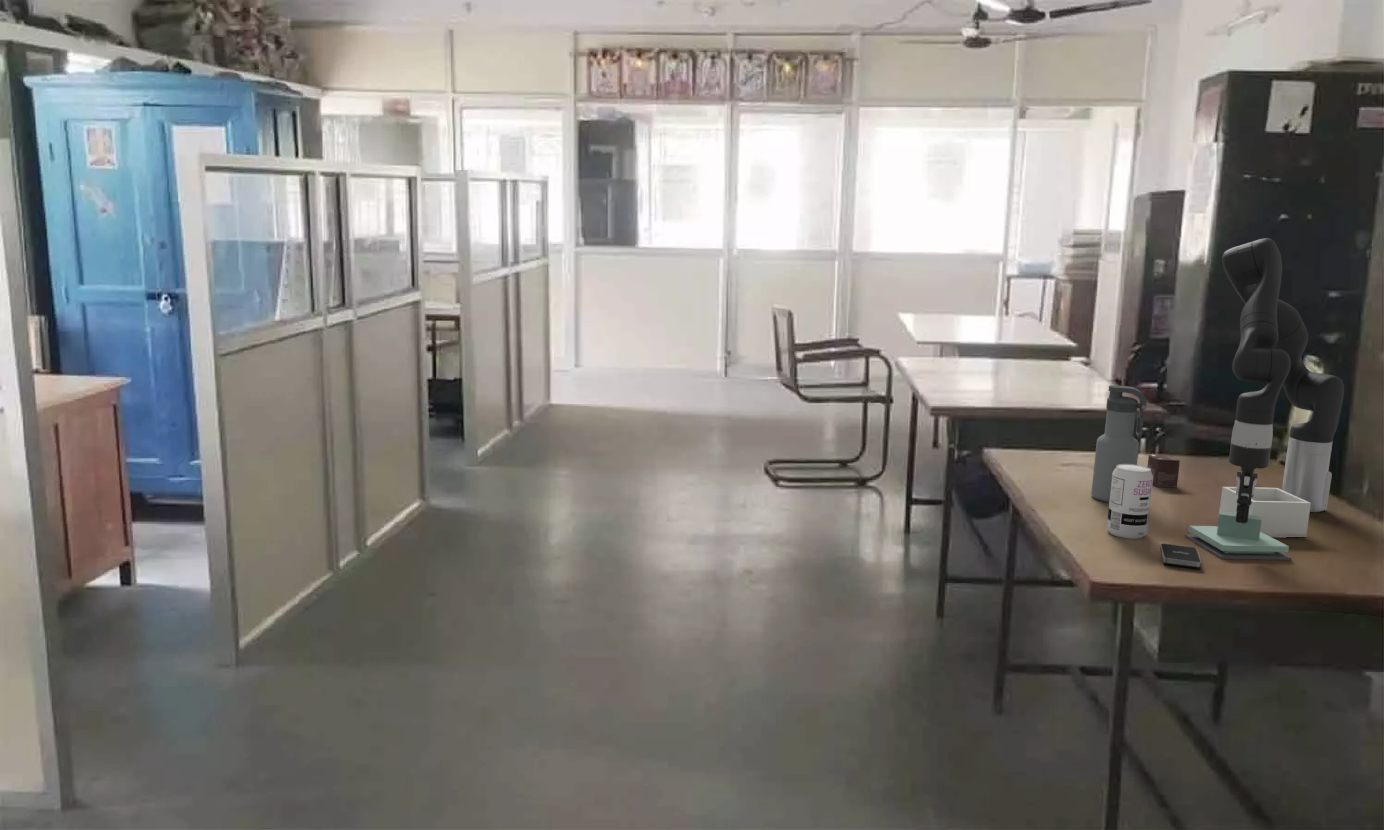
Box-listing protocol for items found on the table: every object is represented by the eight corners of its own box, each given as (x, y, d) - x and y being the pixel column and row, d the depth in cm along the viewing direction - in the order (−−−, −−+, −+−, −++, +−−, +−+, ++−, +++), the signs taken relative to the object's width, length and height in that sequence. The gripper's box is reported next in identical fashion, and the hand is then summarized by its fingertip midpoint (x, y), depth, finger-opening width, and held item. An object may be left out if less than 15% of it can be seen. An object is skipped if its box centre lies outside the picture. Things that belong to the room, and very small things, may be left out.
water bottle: (1132, 495, 273) (1144, 385, 268) (1136, 505, 264) (1149, 391, 258) (1089, 491, 275) (1100, 382, 270) (1092, 501, 266) (1104, 388, 261)
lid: (1249, 536, 239) (1253, 506, 238) (1287, 556, 225) (1291, 525, 224) (1188, 535, 238) (1191, 505, 237) (1221, 555, 224) (1226, 524, 223)
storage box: (1272, 521, 254) (1277, 487, 252) (1305, 537, 241) (1310, 502, 240) (1218, 520, 253) (1222, 486, 252) (1248, 536, 240) (1253, 501, 239)
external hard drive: (1195, 556, 226) (1196, 547, 226) (1200, 572, 216) (1201, 563, 215) (1159, 552, 228) (1160, 542, 228) (1162, 567, 218) (1163, 558, 218)
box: (1177, 487, 283) (1180, 460, 282) (1154, 486, 283) (1157, 459, 282) (1168, 481, 289) (1171, 454, 288) (1145, 481, 289) (1148, 454, 288)
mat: (1251, 538, 239) (1251, 535, 239) (1291, 559, 225) (1291, 557, 225) (1184, 536, 239) (1185, 534, 239) (1220, 558, 224) (1220, 556, 224)
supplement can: (1113, 526, 245) (1120, 461, 242) (1151, 534, 240) (1159, 467, 237) (1100, 533, 239) (1108, 467, 236) (1139, 541, 234) (1147, 474, 231)
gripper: (1271, 451, 219) (1261, 528, 223) (1271, 439, 232) (1261, 512, 235) (1230, 446, 223) (1220, 523, 226) (1232, 434, 235) (1223, 507, 238)
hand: (1241, 517), depth 230 cm, fingers open, 8 cm apart
